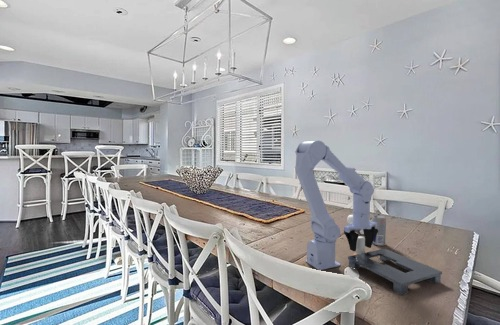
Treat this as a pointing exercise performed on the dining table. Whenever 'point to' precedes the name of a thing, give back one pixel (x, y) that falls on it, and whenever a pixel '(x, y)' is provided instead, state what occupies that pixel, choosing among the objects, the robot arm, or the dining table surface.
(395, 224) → the dining table surface
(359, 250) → the keyhole peg
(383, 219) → the energy drink
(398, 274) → the keyhole plate
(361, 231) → the white animal figurine
